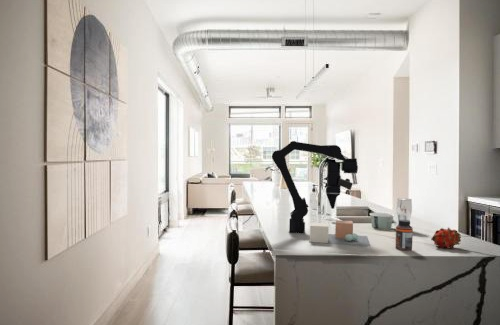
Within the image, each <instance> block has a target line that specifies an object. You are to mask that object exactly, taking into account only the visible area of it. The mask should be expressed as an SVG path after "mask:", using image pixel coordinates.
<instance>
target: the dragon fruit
mask: <svg viewBox="0 0 500 325" xmlns="http://www.w3.org/2000/svg"><path fill="white" fill-rule="evenodd" d="M461 236H462V234H460V233H459V232H458V230H456V229H451V228H450V227H447V229H445V228H443V227H442V228H440V229H439V230H436V231H435V232H434V235H433V236H432V237H431V241H433V244H434V245H435V247H437V248H441V249H442V248H447V249H453V248H454V246H456V245H459V246H460V243H461V242H462V241H461V240H462V239H461V238H462V237H461Z"/></svg>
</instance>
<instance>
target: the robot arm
mask: <svg viewBox="0 0 500 325" xmlns="http://www.w3.org/2000/svg"><path fill="white" fill-rule="evenodd" d="M293 151H300V152H307V153H314V154H319V155H322V156H326V158H325V159H324V160H322V161H323V164H327V165H326V166H327V168H326V171H327V173H326V188H325V194H326V198H327V199H328V202H329V206H330V208H331V209H332V210H333V209H335V206H336V201H337V198H338V197H339V196H340V195H341V187H343V188H345V189H347V190H349V191H351V190H352V187H353V183H354V182H351V179H349V178H344V179H343V178H342V177H341V172H343V174H358V169H359V167H358V166H359V165H358V159H357V158H356V157H355V158H354V157H353V158H346V157H345V156H344V155H343V153H342V149H341V147H340V146H338V145H336V144H332V145H331V144H329V145H327V144H326V145H318V144H313V143H306V142H299V141H295V140H292V141H290V143H288V144H287V145H285V146H284V147H282V148H281V149H280V150H279V149H278V150H275V151H273V152H272V155H271V159H272V161H273V162H274V164H275V165H276V166H277V168H278V171H280V173H281V176H282V178H283V180H284V182H285V184H286V185H285V186H286V187H287V189H288V192H289V195H290V196H291V199H292V203H293V206H294V207H293V208H294V209H293V210H292V211H291V212H289V213H290V218H289V226H288V228H289V231H288V234H304V233H305V232H306V221H305V219H304V217H305V216H307V215H308V212H309V209H308V208H310V207H309V204H308V203H307V202H306V197H303V198H302V197H301V196H300V194H299V191H298V189H297V186H296V184H295V182H294V180H293V177H292V175H291V173H290V170H289V169H288V165H287V160H286V157H287V155H289V154H290V153H292V152H293ZM337 160H338V161H337Z"/></svg>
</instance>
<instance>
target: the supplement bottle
mask: <svg viewBox="0 0 500 325" xmlns="http://www.w3.org/2000/svg"><path fill="white" fill-rule="evenodd" d="M413 230H414V229H413V226H411V220H410V221H409V220H399V225H398V224H397V225H396V227H395V249H396V250H398V251H408V252H409V251H412V250H413V233H414V232H413Z"/></svg>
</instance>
